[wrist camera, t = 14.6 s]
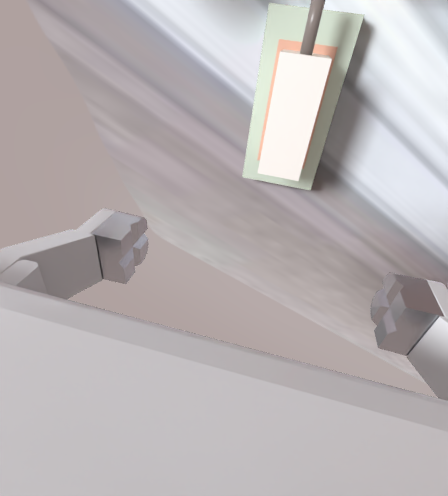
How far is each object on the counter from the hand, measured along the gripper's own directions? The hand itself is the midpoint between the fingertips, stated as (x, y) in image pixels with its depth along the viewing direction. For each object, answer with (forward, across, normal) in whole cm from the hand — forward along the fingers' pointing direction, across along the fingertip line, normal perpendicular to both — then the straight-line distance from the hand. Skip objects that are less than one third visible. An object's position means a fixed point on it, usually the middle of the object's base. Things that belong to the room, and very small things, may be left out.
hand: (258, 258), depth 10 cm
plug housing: (+25, 0, -2) cm, 25 cm away
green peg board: (+27, 0, 0) cm, 27 cm away
